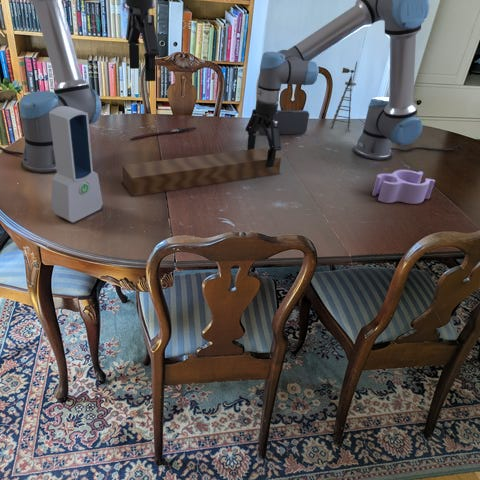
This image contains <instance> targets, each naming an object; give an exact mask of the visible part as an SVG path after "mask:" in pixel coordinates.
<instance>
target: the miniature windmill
mask: <svg viewBox="0 0 480 480" xmlns="http://www.w3.org/2000/svg"><path fill="white" fill-rule="evenodd" d="M357 66H358V61H356V62H355V67H354V69H351V70H350V69H349V68H347V67H343V68H342V71H341V73H342V74H348V73H351V74H350V76H349V80H348V81H344V85H346V86H345V89H344V91H343V94H342V96H341V99H340V101H339V104H338V106H337V109H336V111H335V114H334V115H333V119H332V120H331V124H332V125H331V129H333V128H334V126H335V123H336V122H341V123H347V131H350V124H351V109H352V107H351V106H352V105H351V104H352V91H353V89H352V87H355V86H357V83H356V82H354V80H355V75H356V70H357ZM347 92H349V96H346V94H347ZM344 101H346V102H347V101H348V102H349V103H348V105H342V104H343V102H344ZM341 107H342V108H341ZM344 108H347V109H344ZM340 111H345V112H348V116H344V115H339V112H340ZM337 118H345V119H348V120H347V121H346V120H345V121H344V120H338V119H337Z"/></svg>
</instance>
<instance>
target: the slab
mask: <svg viewBox="0 0 480 480" xmlns="http://www.w3.org/2000/svg"><path fill="white" fill-rule="evenodd" d="M268 149H270V147H269V148H268V146H267V147H266V146H265V147H259V148H254V149H249V150H247V149H242V150H233V151H227V152H226V151H225V152H217V153H211V154H200V155H194V156H186V157H178V158H169V159H163V160H153V161H145V162H137V163H130V164H122V166H121V168H122V183H123V185H124V186H125V187H126V190H127V191H128V192H129V193H130V195H131V196H132V197H137V196H144V195H150V194H157V193H163V192H170V191H174V190H175V191H176V190H182V189H187V188H188V189H189V188H194V187H195V188H196V187H202V186H209V185H214V184H219V183H228V182H233V181H239V180H245V179H254V178H259V177H266V176H271V175H278V174H280V170H281V163H282V156H280V155H279V154H278V153H276V155H275V159H274V166H273V167H268V168H267V167H266V162H267V155H268Z"/></svg>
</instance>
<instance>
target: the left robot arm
mask: <svg viewBox="0 0 480 480" xmlns="http://www.w3.org/2000/svg"><path fill="white" fill-rule="evenodd" d="M27 1H28V2H29V3H31V4H32V5H33V6H34V10H35V14H36V17H37V21H38V24H39V27H40V30H41V35H42V38H43V41H44V45H45V48H46V52H47V55H48V59H49V62H50V65H51V69H52V72H53V76H54V79H55V82H56V83H55V86H54V88H53V91H51V90H42V91H41V90H37V91H32V92H29V93H26V94H24V95H23V96H22V97H21V98H20V100H19V103H18V104H19V116H20V119H21V126H22V132H23V137H24V148H23V152H21V151H13V150H8V149H6V148H3V147H2V146H0V150H1V151H2V152H4V153H6V154H11V155H17V156H22V158H21V159H22V160H21V161H22V166H23V168H24V169H25V170H27V171H29V172H33V173H39V174H46V173H57V170H56V162H55V155H54V147H53V140H52V132H51V124H50V117H49V112H50V111H52V110H53V109H55V108H57V107H60V106H67V107H71V108H74V109H77V110H80V111H83V112H86V113H88V120H89V125H92V124H95V123H97V122H98V121H99V119H100V117H101V115H102V101H101V97H100V96H99V94H98V93H97V91H96V90H95V89H93V88H91V87H90V83H89V82H87V81H86V80H84V78H83V76H82V72H81V68H80V64H79V60H78V57H77V52H76V49H75V46H74V42H73V38H72V35H71V30H70V27H69V22H68V20H67V16H66V12H65V7H64V5H63V0H27ZM125 4H126V6H127V7H128V8H127V10H128V17H127V23H126V25H127V26H126V36H125V40H126V41H127V43H128V55H129V56H128V57H129V58H128V59H129V61H128V62H129V69H130V70H137V69H139V70H140V44H141V43H140V35H141V40H142V43H143V47H144V54H143V57H144V78H145V79H144V81H145V82H156V80H157V78H156V76H157V75H156V57H157V56H159V55H160V50H159V46H158V39H157V32H156V25H155V15H154V14H150V10H153V9H155V8H156V0H125Z"/></svg>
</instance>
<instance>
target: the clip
mask: <svg viewBox="0 0 480 480" xmlns="http://www.w3.org/2000/svg"><path fill="white" fill-rule="evenodd" d="M423 175H424V171H420V170H419V171H414V170H412V169H411V170H410V169H397V170H394V171H393V172H392V173H379V174H377V175H376V179H375V182H374V186H373V189H372V193H371V196H373V197H376V196H377V195H378V198H377V201H379V202H381V203H387V204H392V203H395V202H402V203H404V204H405V203H406V204H413V205H416V204H421V203H423V202H424V201H425V200H429V199H430V197H431V194H432V191H433V188H434V185H435V182H436V180H435V179H433V178H425V179H424V182H422V183H421V181H422V177H423Z"/></svg>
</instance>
